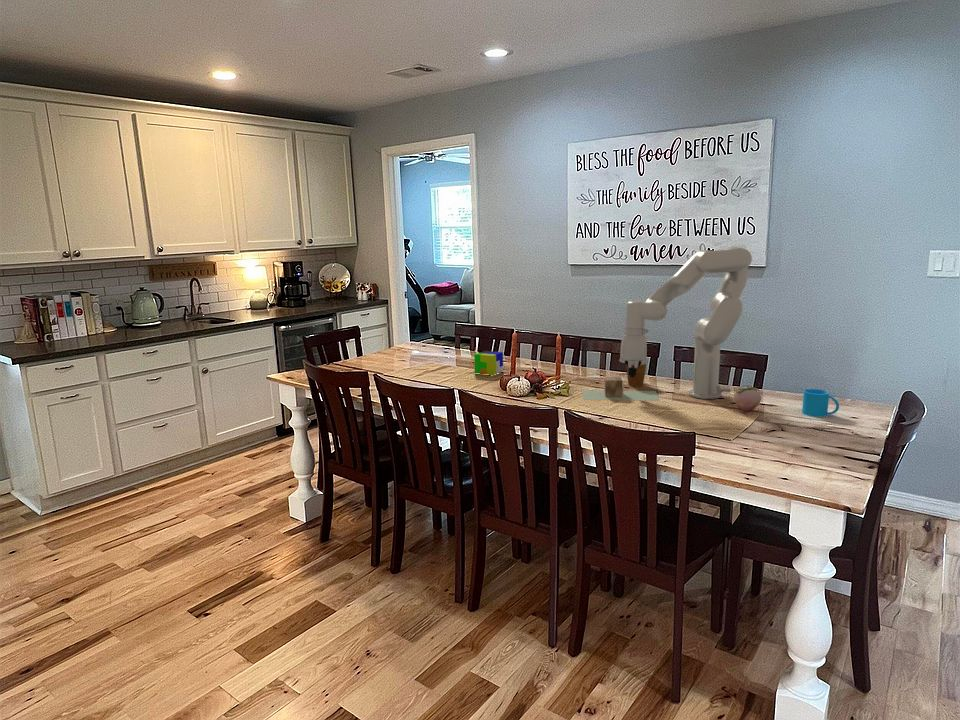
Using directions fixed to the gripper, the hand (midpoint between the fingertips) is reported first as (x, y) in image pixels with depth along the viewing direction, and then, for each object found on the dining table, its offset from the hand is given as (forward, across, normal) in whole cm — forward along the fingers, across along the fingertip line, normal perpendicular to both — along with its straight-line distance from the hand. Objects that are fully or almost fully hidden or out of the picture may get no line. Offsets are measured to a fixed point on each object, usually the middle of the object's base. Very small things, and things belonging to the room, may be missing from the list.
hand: (632, 376), depth 260 cm
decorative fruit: (+7, -40, +20) cm, 45 cm away
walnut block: (+4, +4, 0) cm, 6 cm away
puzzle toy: (+10, +63, -40) cm, 76 cm away
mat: (+8, +4, 0) cm, 9 cm away
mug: (+6, -65, +22) cm, 69 cm away
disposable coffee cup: (+8, -4, -19) cm, 21 cm away
